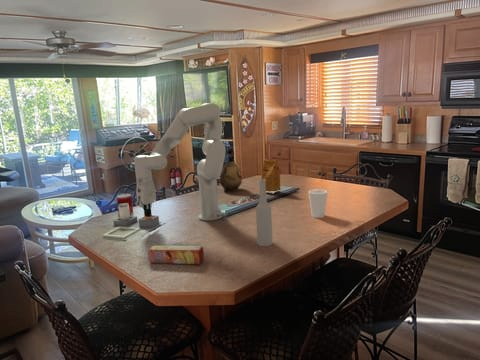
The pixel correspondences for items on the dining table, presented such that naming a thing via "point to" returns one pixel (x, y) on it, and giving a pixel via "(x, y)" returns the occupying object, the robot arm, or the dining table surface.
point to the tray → (120, 236)
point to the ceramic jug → (230, 174)
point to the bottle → (263, 218)
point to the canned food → (125, 200)
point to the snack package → (176, 254)
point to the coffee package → (271, 175)
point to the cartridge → (124, 211)
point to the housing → (138, 222)
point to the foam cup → (318, 202)
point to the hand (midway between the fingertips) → (148, 216)
